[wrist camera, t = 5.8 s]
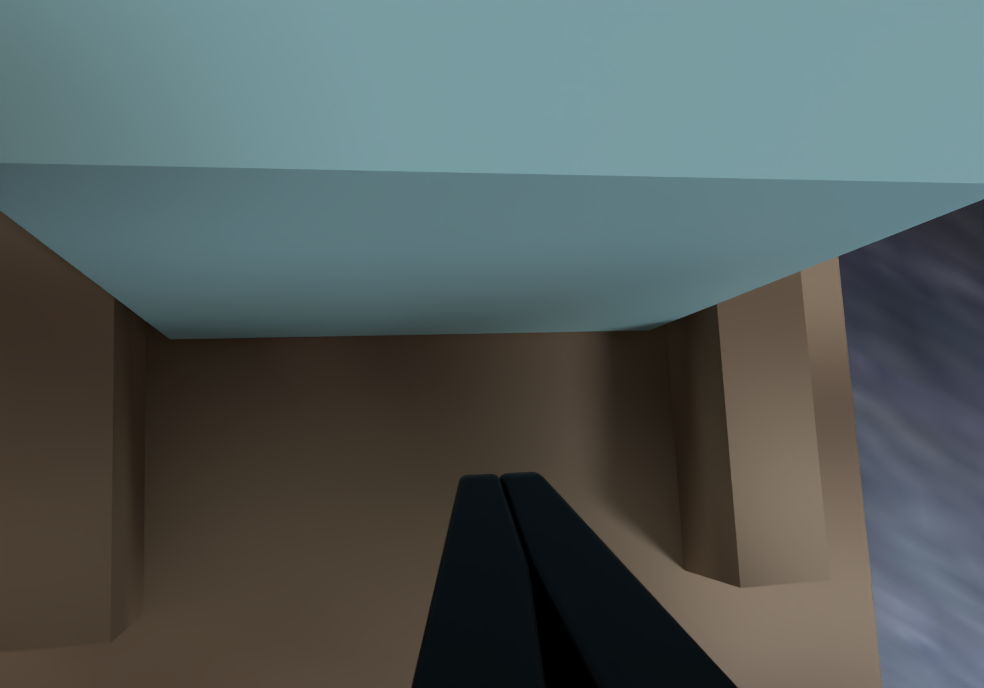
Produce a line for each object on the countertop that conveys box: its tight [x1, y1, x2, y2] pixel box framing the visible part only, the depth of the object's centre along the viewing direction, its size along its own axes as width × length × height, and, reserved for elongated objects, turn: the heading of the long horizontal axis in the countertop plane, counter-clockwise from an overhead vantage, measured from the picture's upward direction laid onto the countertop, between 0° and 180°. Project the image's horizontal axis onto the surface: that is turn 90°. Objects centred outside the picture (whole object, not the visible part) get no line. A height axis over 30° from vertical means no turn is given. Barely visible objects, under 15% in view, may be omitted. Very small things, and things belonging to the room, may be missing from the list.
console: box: [0, 211, 882, 688], centre depth 10 cm, size 14×16×11 cm
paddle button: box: [0, 0, 984, 339], centre depth 10 cm, size 3×8×8 cm, turn 93°
